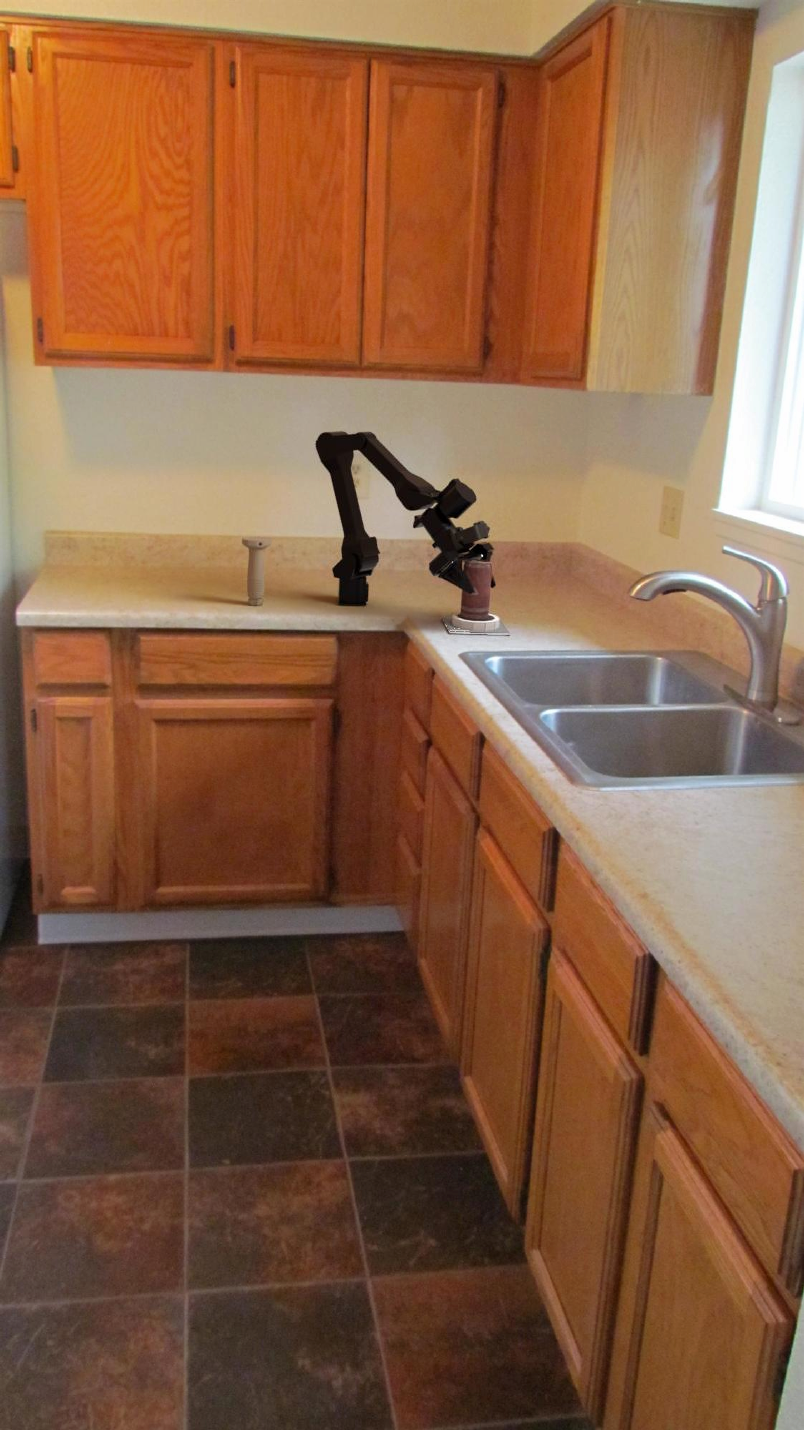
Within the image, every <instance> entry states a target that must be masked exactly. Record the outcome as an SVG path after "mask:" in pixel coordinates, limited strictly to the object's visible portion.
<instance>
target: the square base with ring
mask: <svg viewBox="0 0 804 1430" xmlns="http://www.w3.org/2000/svg"><path fill="white" fill-rule="evenodd" d="M460 613H461V611H460V612H455V613H453V614H452V616H451V617H442V619H443V620H444V623H445V624H446V625H447V628H448V630H449V631H450V630H469V631H465V632H470V633H510V631H509V630H508V628H507V627H506V626H505V624H504V623H503V621H502V619H501V618H500V617H499V616H498V615H495V614H491V613H489V615H488V621H470V620H464V619H461V618H460ZM442 619H441V620H442ZM444 623H443V624H444ZM454 628H455V629H454ZM458 628H460V629H458ZM450 632H455V631H450ZM456 632H464V631H456Z"/></svg>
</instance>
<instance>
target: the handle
mask: <svg viewBox="0 0 804 1430" xmlns="http://www.w3.org/2000/svg"><path fill="white" fill-rule="evenodd" d="M241 544H242V546H244V547H246V548H247V549H248V564H247V565H248V566H247V576H246V578H247V580H246V589H247V592H246V593H247V597H248V599H247V603H248V605H250V606H255V607H259V606H262V605H263V603H264V599H263V598H264V596H265V595H264V594H265V587H266V586H265V585H266V580H265V579H266V575H265V549H266V548H268V547H270V546H271V544H272V538H270V537H265V536H246V537H242V538H241Z"/></svg>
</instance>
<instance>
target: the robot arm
mask: <svg viewBox="0 0 804 1430" xmlns="http://www.w3.org/2000/svg"><path fill="white" fill-rule="evenodd" d="M314 444H315V450H316V453H317V455H318V458H319V460H320V463H321V464H322V465H323V467H324V468H325V469H326V470H327V472H328V473H329V476H330V480H331V484H332V488H333V492H334V497H335V503H336V506H337V510H338V516H339V521H340V524H341V527H342V532H343V538H342V541H341V542H342V543H341V547H340V550H341V559H340V560H339V561H338V562H337V563H336V564H335V565H334V566H333V567H332V569H331V571H332V575H333V578H335V579H338V589H337V591H338V593H337V597H336V598H337V604H338V605H339V606H362V607H363V606H367V603H368V602H369V593H370V591H369V589H370V585H369V582H368V581H367V577H370V576H372V574H373V572H374V569H375V568H376V566H377V565H378V563H379V560H380V558H379V557H380V554H381V551H380V549H379V547H378V540H377V537H376V536H370V535H369V534H368V533H367V531H366V529H365V526H364V521H363V516H362V513H361V507H360V504H359V498H358V494H357V490H356V485H355V481H354V476H353V473H352V465H353V461H354V458H355V452H354V451H358V452H360V453H361V454H362V456H363V457H365V458H366V460H367V461H368V462H369V463H370V464H371V465H372V466H373V467H374V468H375V469H376V470H377V471H378V472H379V473H380V474H381V475H382V476H383V477H384V478H385V479H386V480H387V481H388V482H389V483H390V484H391V486H392V487H393V488H394V492H395V493H394V494H395V496H396V498H397V499H398V501H399V502H400V504H402V506H403V508H405V510H407V511H409V512H414V511H421V510H424V511H423V512H422V513H421V514H418V515H414V518H413V519H414V520H413V523H412V528H413V529H418V528H424V529H425V531H426V533H427V534H428V536H430V538H431V540H432V541H433V543H432V544H431V546H432V548H433V549H438V550H439V551H440V552H439V553H438V554H436V555H437V556H435V557H434V558H433V559H432V560H431V561H430V562H429V564H428V571H429V572H430V574H432V576H433V577H437V578H438V579H442V580H444V581H446V582H448V583H450V584H451V585H454V586H455V587H456V588H457V587H458V588H459V589H460V590H461V591H462V590H464V591H465V592H467V593H469V594H472V593H473V592H474V589H473V587H472V585H471V583H470V582H469V580H468V578H467V576H466V574H465V573H464V571H463V563H465V562H466V560H469V559H480V560H487V561H490V562H491V558H492V556H493V553H494V551H495V548H494V547H493V545H492V544H491V543H490V542H489V541H488V542H487V541H483V542H478V541H481V540H485V539H488V538H490V535H489V534H490V529H491V528H490V526H488V524H487V523H485V521H484V520H479V521H476V522H474V523H473V525H472V526H469V527H466V528H463V527H462V526H456V525H455V524H454V522H453V520H452V518H453V519H456V520H458V519H459V518H460V517H462V516H463V514H465V513H466V512H467V511H468V509H470V508H471V507H472V506H473V505H474V504H475V503H476V502H477V496H476V493H475V491H474V490H473V489H472V488H470V487H469V486H468V484H465V483H464V482H462V481H461V480H460V479H459V478H452V479H451V480H450V481H449V483H448V485H446V486H445V488H443V489H442V490H438V489H436V488H435V487H434V485H432V484H431V483H430V482H428V481H427V480H426V479H425V478H422V476H419V475H416V474H415V473H413V472H411V471H410V470H409V469H408V468H407V467H405V465H403V464H402V463H401V462H400V460H399V459H398V458H396V457H395V455H394V454H393V453H392V452H391V451H390V450H389V449H388V448H386V446H385V445H384V444H383V443H382V442H381V441H380V440H379V439H378V438H377V436H376V434H375V433H373V432H372V431H359V432H356V433H350V434H349V433H348V432H346V431H343V430H339V431H338V430H337V431H326V432H325V431H324V432H322V433H320V434H319V435H318V436H317V439H316V440H315V443H314ZM475 542H477V543H475ZM496 585H497V584H496V579H495V577H494V574H492V580H491V588H490V589H495V587H496Z"/></svg>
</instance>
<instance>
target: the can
mask: <svg viewBox="0 0 804 1430" xmlns="http://www.w3.org/2000/svg"><path fill="white" fill-rule="evenodd" d="M462 569H463V571H464V573H465V574H466V576H467V578H468V580H469V582H470V583H471V585H472V587H473V589H474V592H473V593H472V594H469V593H467V592H465V591H464V590H462V589H461V597H460V598H461V601H460V612H461V613H460V618H461V619H464V620H470V621H488V615H489V614H490V599H491V589H492V588H491V580H492V574H493V573H494V565H493V563H492V562H491V560H490V561H487V560H480V559H469V560H466V562H463V567H462ZM493 575H494V574H493Z"/></svg>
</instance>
